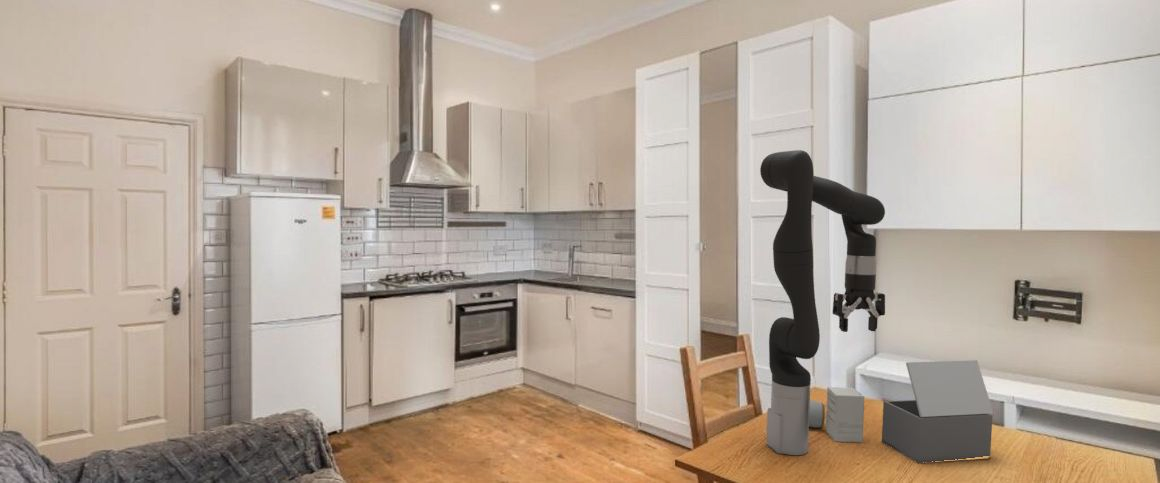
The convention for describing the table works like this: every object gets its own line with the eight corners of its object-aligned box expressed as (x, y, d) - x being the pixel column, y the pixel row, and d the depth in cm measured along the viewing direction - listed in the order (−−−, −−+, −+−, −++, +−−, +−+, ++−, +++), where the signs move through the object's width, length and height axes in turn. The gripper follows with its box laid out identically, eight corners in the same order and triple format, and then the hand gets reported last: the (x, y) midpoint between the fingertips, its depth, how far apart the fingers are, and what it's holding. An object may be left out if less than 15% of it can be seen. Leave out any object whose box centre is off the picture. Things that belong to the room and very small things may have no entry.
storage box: (918, 463, 138) (920, 418, 137) (881, 442, 150) (883, 401, 150) (990, 458, 141) (992, 415, 140) (947, 438, 154) (949, 398, 153)
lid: (920, 417, 137) (921, 416, 137) (905, 362, 142) (907, 362, 142) (991, 413, 141) (993, 413, 140) (975, 360, 145) (977, 360, 145)
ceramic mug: (825, 432, 157) (826, 404, 156) (793, 428, 159) (794, 401, 159) (819, 419, 167) (820, 393, 167) (790, 416, 169) (791, 390, 169)
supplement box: (852, 432, 157) (854, 387, 156) (863, 443, 149) (865, 396, 149) (824, 431, 158) (826, 386, 157) (834, 441, 150) (836, 394, 149)
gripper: (845, 273, 150) (842, 334, 151) (893, 273, 152) (891, 333, 153) (828, 270, 157) (826, 328, 158) (874, 270, 160) (872, 327, 161)
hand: (858, 331), depth 156 cm, fingers open, 8 cm apart
